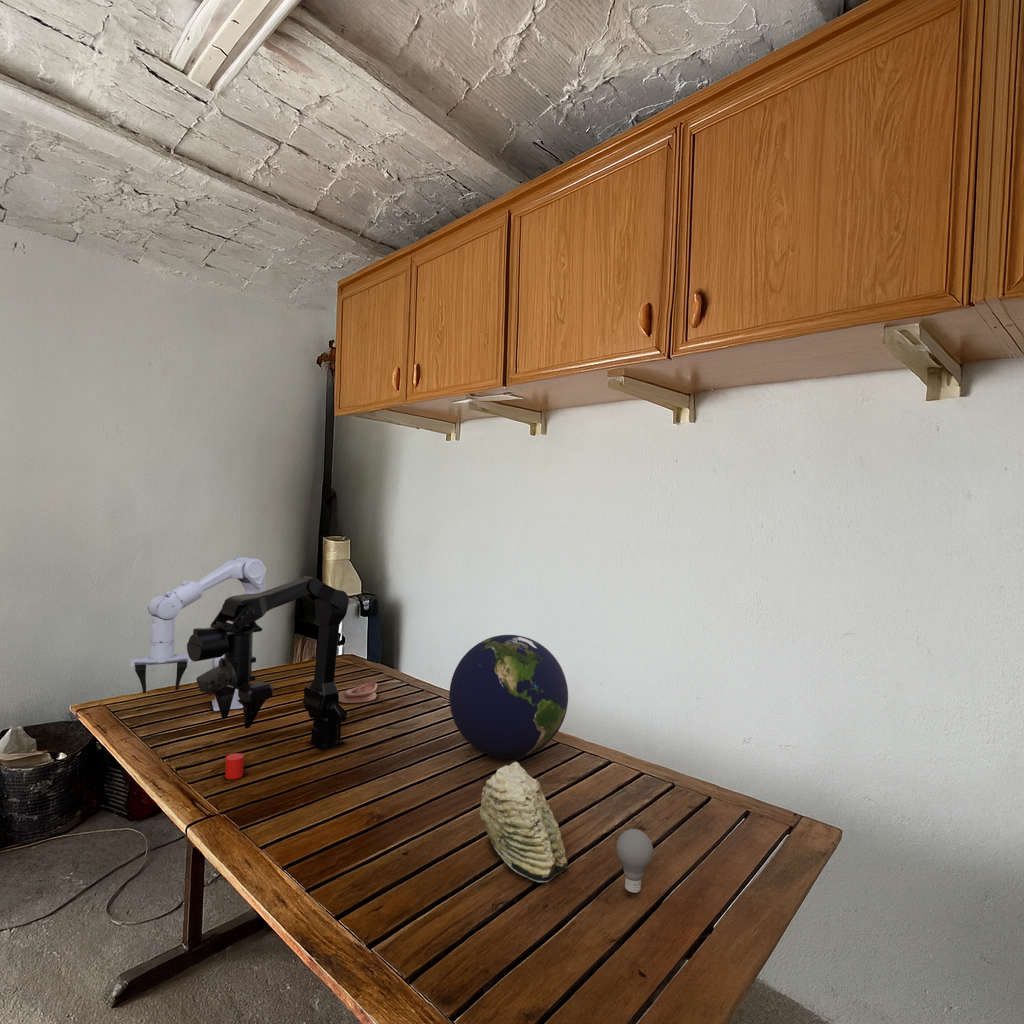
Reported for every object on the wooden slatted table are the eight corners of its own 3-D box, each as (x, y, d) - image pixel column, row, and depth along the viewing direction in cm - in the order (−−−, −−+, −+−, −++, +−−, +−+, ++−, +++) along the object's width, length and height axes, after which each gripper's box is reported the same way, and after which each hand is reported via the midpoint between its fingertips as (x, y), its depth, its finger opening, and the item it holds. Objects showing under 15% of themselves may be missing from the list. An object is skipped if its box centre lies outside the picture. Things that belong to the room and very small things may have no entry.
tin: (221, 777, 141) (222, 758, 140) (233, 771, 144) (233, 752, 144) (235, 780, 140) (235, 760, 139) (246, 773, 143) (247, 754, 143)
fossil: (501, 827, 124) (504, 751, 124) (575, 868, 111) (578, 784, 111) (467, 843, 118) (470, 763, 118) (541, 889, 105) (545, 799, 105)
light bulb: (610, 879, 108) (613, 822, 108) (644, 879, 109) (647, 822, 109) (619, 902, 102) (622, 840, 102) (655, 901, 103) (658, 840, 103)
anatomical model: (326, 688, 195) (343, 678, 206) (325, 700, 195) (343, 690, 206) (366, 692, 192) (381, 682, 203) (365, 705, 192) (381, 694, 203)
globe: (495, 724, 181) (499, 619, 180) (587, 752, 163) (592, 636, 163) (421, 755, 157) (426, 635, 156) (520, 792, 139) (526, 657, 139)
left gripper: (130, 646, 165) (128, 697, 165) (192, 642, 171) (191, 692, 172) (131, 640, 171) (130, 690, 171) (192, 636, 178) (190, 684, 178)
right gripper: (180, 652, 140) (178, 722, 140) (227, 668, 129) (224, 744, 130) (228, 644, 149) (225, 710, 149) (275, 658, 138) (272, 729, 139)
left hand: (160, 690), depth 172 cm, fingers open, 7 cm apart
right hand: (235, 722), depth 142 cm, fingers open, 9 cm apart
